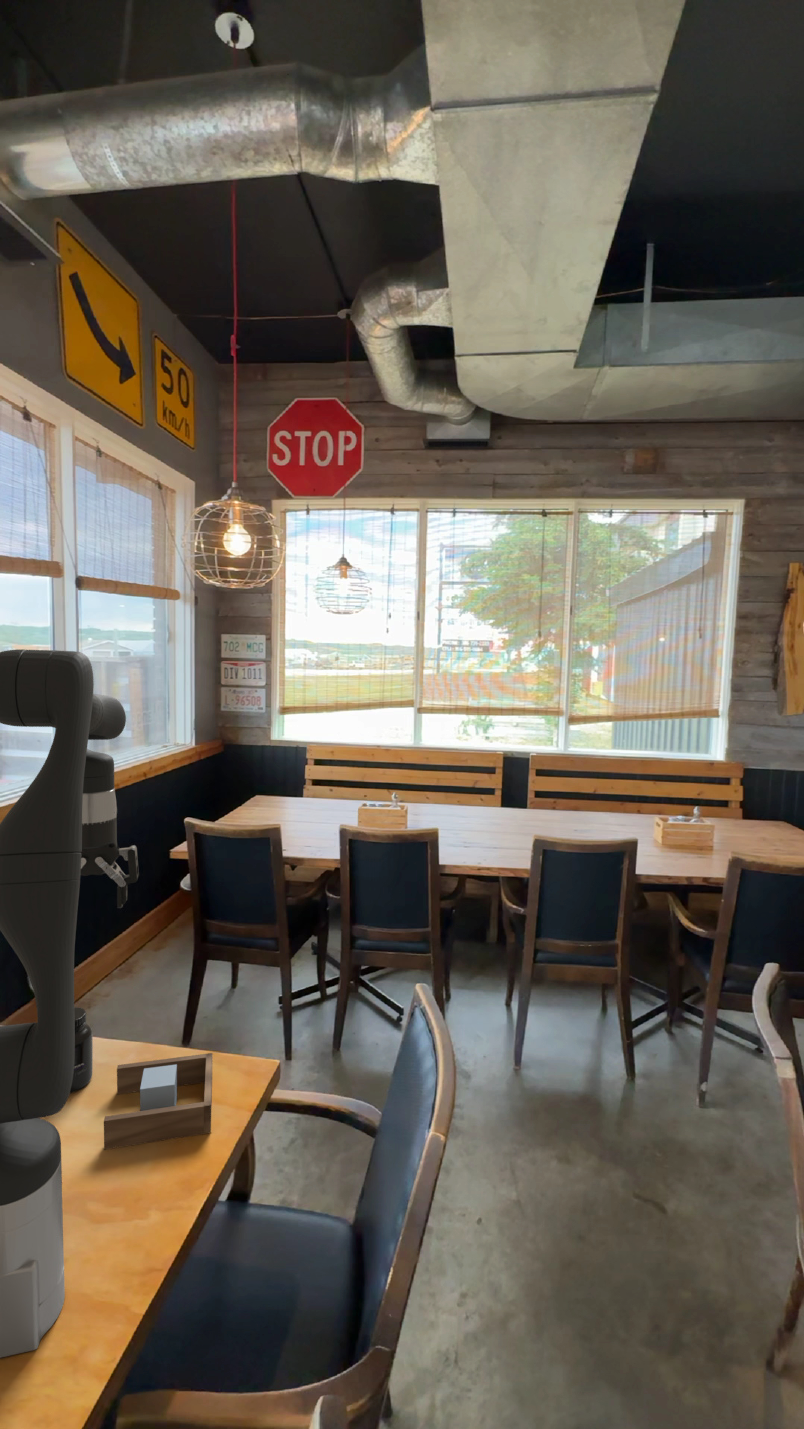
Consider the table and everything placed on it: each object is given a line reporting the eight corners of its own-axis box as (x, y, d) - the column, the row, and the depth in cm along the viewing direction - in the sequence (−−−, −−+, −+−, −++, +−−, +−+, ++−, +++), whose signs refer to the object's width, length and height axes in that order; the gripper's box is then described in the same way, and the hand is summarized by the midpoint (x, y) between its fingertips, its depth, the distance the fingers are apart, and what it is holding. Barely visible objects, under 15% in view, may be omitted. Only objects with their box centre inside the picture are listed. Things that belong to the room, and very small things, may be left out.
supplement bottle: (70, 1100, 105) (68, 1030, 104) (37, 1089, 107) (35, 1021, 106) (102, 1074, 112) (101, 1008, 110) (71, 1064, 114) (69, 1000, 112)
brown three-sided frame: (210, 1132, 99) (210, 1105, 99) (104, 1149, 95) (103, 1121, 95) (212, 1077, 112) (212, 1052, 111) (118, 1090, 108) (117, 1065, 107)
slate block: (174, 1120, 102) (174, 1084, 101) (140, 1125, 100) (140, 1089, 100) (176, 1098, 106) (176, 1064, 106) (144, 1103, 105) (144, 1068, 104)
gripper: (39, 823, 104) (41, 920, 106) (134, 819, 108) (135, 913, 110) (51, 811, 111) (53, 902, 113) (140, 808, 115) (140, 896, 117)
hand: (93, 908), depth 111 cm, fingers open, 8 cm apart
